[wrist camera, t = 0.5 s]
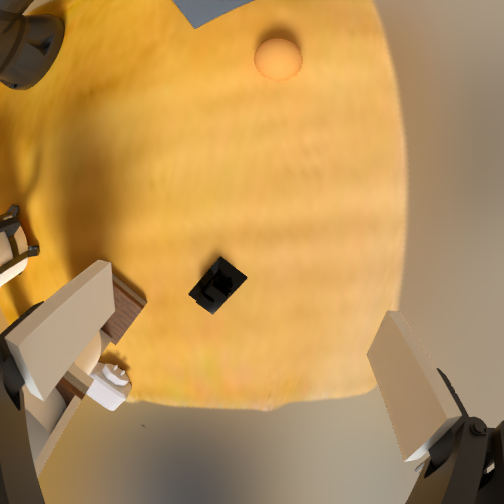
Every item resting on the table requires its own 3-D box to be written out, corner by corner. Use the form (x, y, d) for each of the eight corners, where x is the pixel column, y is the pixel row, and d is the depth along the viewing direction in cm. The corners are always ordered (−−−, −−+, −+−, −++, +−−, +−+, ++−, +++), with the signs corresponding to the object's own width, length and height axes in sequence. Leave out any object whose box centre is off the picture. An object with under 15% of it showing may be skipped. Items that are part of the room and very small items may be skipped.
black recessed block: (224, 238, 37) (218, 250, 33) (265, 271, 39) (264, 286, 34) (175, 296, 41) (166, 312, 37) (213, 324, 42) (207, 341, 38)
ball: (247, 59, 28) (243, 44, 23) (285, 41, 27) (288, 24, 22) (269, 92, 30) (269, 82, 24) (308, 74, 28) (315, 62, 23)
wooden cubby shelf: (120, 338, 45) (28, 494, 12) (77, 301, 43) (-39, 435, 10) (147, 302, 41) (29, 496, 8) (97, 260, 39) (-59, 412, 6)
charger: (144, 373, 48) (120, 398, 52) (106, 346, 46) (88, 375, 51) (136, 389, 43) (113, 412, 48) (96, 361, 42) (79, 389, 46)
